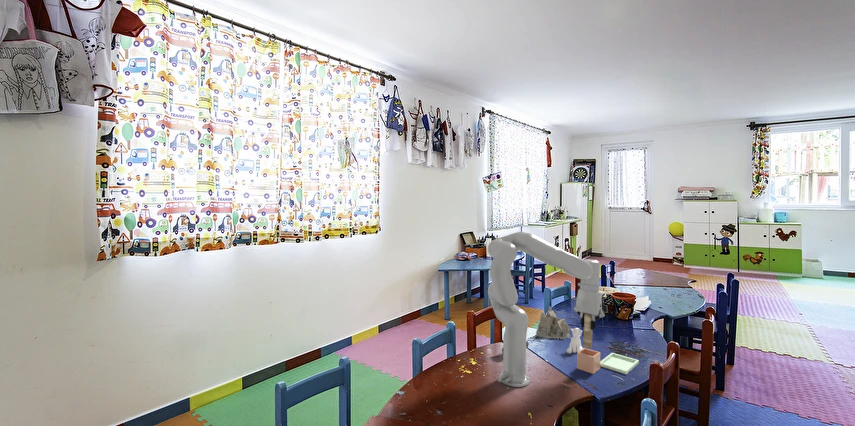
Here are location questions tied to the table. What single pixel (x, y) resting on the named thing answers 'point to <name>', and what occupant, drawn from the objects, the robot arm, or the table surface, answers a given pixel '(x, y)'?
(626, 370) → the tray
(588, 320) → the dowel
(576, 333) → the sitting furry creature
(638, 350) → the table surface
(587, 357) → the pink open box
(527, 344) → the figurine character
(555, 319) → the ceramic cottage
